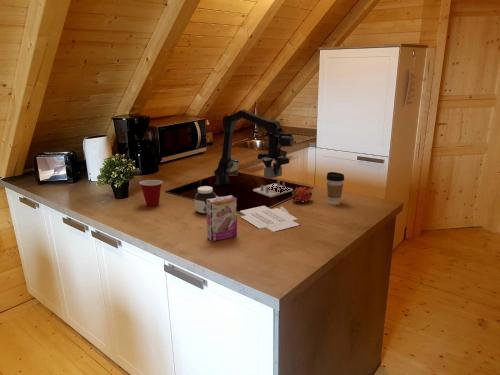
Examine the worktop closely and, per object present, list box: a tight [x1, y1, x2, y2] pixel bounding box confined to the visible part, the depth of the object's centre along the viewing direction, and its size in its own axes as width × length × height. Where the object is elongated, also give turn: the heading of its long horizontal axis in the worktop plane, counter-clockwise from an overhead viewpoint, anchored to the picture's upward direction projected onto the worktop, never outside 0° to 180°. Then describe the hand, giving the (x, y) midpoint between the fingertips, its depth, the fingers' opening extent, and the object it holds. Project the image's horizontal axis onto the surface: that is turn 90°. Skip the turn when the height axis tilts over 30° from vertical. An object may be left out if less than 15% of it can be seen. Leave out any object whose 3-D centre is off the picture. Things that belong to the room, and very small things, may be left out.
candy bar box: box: [206, 195, 238, 243], centre depth 156 cm, size 11×5×16 cm, turn 118°
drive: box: [263, 165, 283, 180], centre depth 211 cm, size 9×4×5 cm, turn 133°
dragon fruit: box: [291, 186, 313, 204], centre depth 196 cm, size 8×8×12 cm
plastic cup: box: [139, 179, 163, 208], centre depth 193 cm, size 11×11×12 cm
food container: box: [228, 157, 240, 177], centre depth 246 cm, size 12×6×10 cm, turn 84°
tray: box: [252, 180, 294, 198], centre depth 214 cm, size 16×14×4 cm
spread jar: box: [194, 185, 219, 216], centre depth 185 cm, size 12×11×12 cm
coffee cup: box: [326, 171, 345, 206], centre depth 193 cm, size 8×8×15 cm
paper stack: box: [239, 205, 301, 233], centre depth 177 cm, size 20×28×4 cm
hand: (272, 174), depth 212 cm, fingers closed on drive, 5 cm apart
